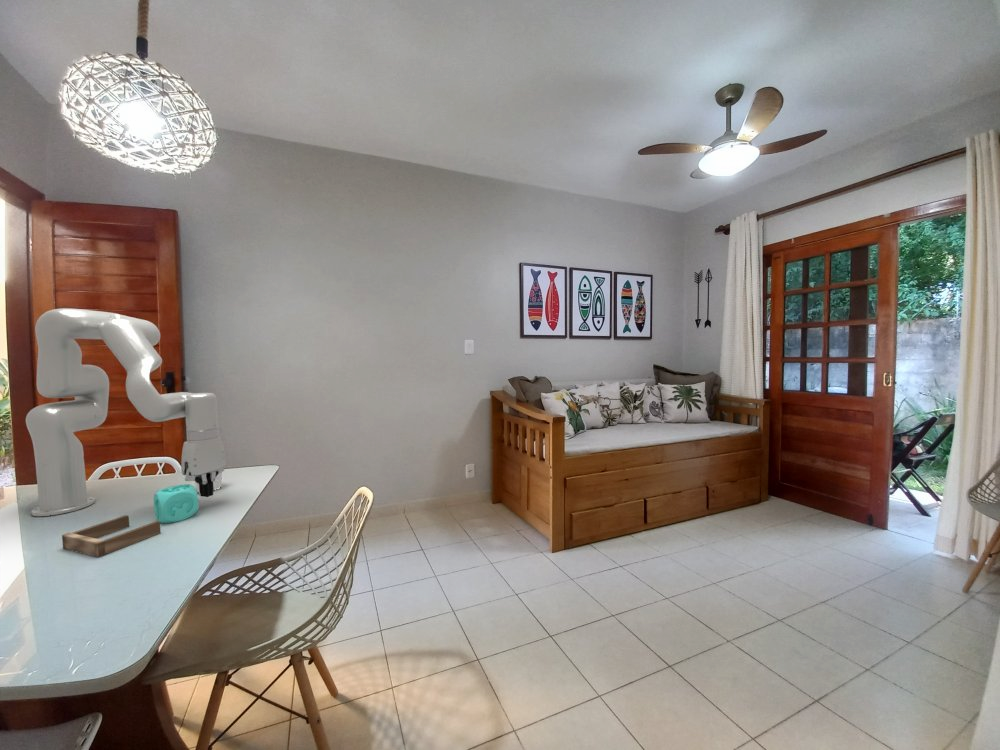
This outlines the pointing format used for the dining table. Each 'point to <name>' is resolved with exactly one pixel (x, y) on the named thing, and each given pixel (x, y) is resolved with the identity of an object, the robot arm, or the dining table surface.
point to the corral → (96, 547)
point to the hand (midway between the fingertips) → (206, 495)
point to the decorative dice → (175, 503)
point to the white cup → (215, 484)
